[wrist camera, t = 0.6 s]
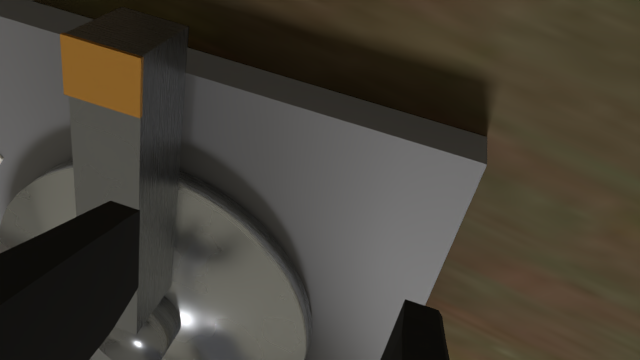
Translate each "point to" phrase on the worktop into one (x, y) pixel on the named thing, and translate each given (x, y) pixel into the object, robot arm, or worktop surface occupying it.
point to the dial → (162, 206)
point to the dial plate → (277, 173)
